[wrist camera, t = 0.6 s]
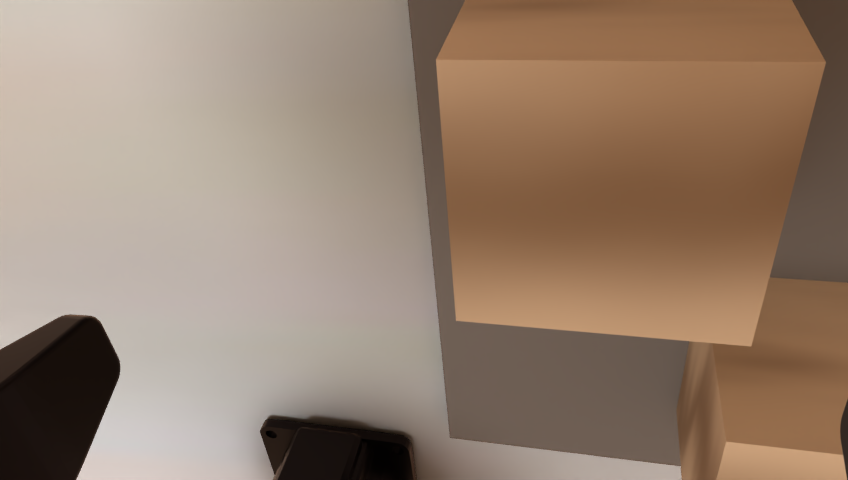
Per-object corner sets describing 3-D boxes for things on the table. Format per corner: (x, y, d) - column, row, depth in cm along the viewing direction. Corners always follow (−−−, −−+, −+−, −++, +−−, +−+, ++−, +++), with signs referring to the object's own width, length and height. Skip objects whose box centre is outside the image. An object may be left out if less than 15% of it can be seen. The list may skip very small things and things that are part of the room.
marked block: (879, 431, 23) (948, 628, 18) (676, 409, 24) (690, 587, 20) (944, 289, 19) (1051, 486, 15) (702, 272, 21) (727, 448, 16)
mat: (907, 479, 25) (912, 494, 24) (452, 425, 28) (450, 437, 28) (1874, -1363, 7) (1963, -1438, 7) (331, -899, 11) (319, -926, 10)
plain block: (719, 185, 19) (751, 346, 14) (493, 175, 20) (455, 321, 16) (764, -51, 15) (825, 61, 11) (487, -44, 17) (435, 60, 12)
